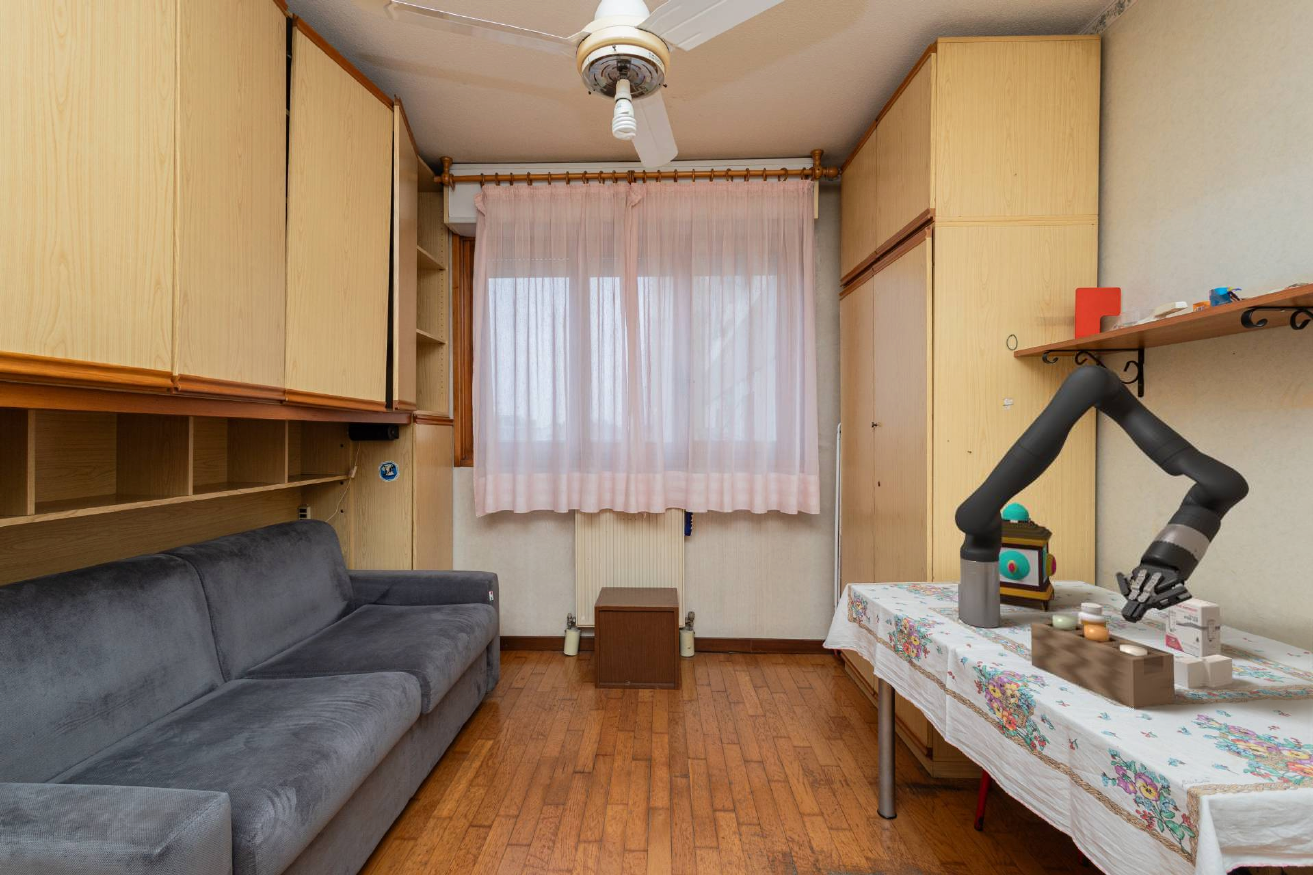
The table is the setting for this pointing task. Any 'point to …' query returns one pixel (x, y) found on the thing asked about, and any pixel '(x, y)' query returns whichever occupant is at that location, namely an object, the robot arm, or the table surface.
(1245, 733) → the table surface
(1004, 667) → the table surface
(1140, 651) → the cream egg
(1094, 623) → the supplement bottle
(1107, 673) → the wooden egg holder
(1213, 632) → the ink box
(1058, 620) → the sage egg
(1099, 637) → the orange egg
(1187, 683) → the white stepped block
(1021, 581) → the decorative lantern
